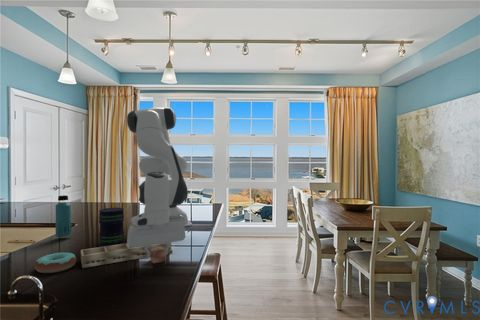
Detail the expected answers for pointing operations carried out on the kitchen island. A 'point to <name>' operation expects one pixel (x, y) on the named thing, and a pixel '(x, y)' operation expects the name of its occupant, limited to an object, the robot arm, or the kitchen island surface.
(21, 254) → the kitchen island surface
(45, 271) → the donut
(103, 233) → the storage jar
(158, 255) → the count cube
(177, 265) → the kitchen island surface
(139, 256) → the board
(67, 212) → the beverage bottle
